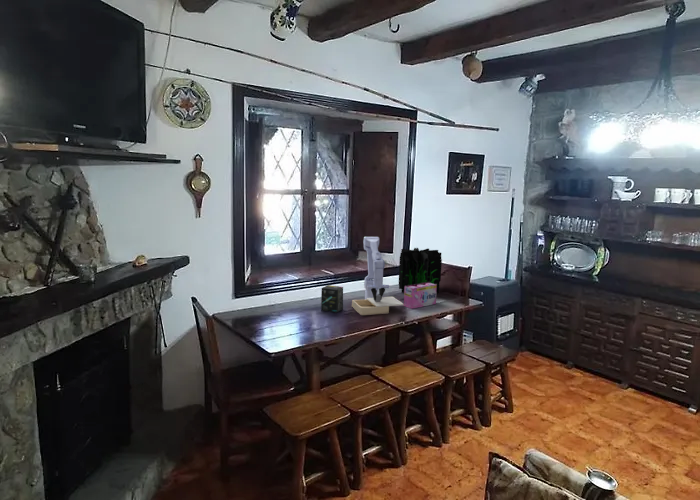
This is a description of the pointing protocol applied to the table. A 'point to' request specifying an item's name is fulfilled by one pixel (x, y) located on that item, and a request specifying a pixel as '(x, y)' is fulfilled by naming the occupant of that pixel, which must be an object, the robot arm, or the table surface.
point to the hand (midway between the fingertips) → (377, 299)
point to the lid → (384, 301)
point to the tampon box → (332, 298)
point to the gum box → (420, 295)
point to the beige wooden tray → (368, 307)
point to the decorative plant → (419, 267)
